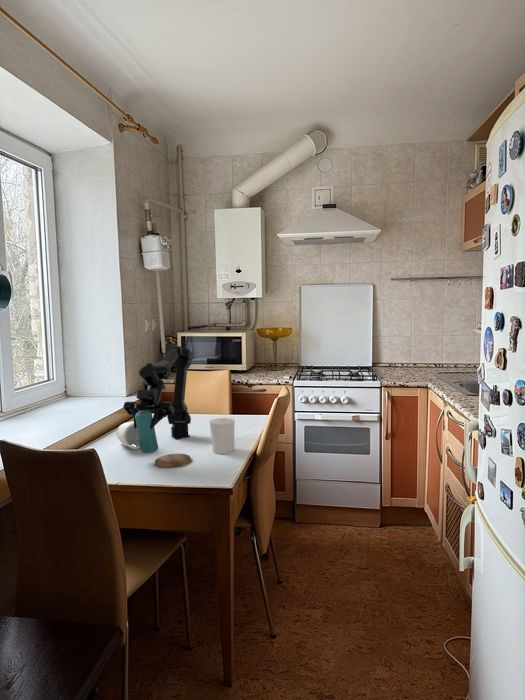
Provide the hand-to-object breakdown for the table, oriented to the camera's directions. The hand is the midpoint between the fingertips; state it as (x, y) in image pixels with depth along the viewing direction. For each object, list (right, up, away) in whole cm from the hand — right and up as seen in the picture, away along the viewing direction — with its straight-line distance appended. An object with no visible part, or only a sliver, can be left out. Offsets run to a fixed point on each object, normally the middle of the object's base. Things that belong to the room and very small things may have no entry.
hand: (142, 428), depth 172 cm
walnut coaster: (+11, -13, +2) cm, 17 cm away
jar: (-15, -7, +30) cm, 35 cm away
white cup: (+29, -11, +13) cm, 33 cm away
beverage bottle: (+2, -11, +2) cm, 11 cm away
